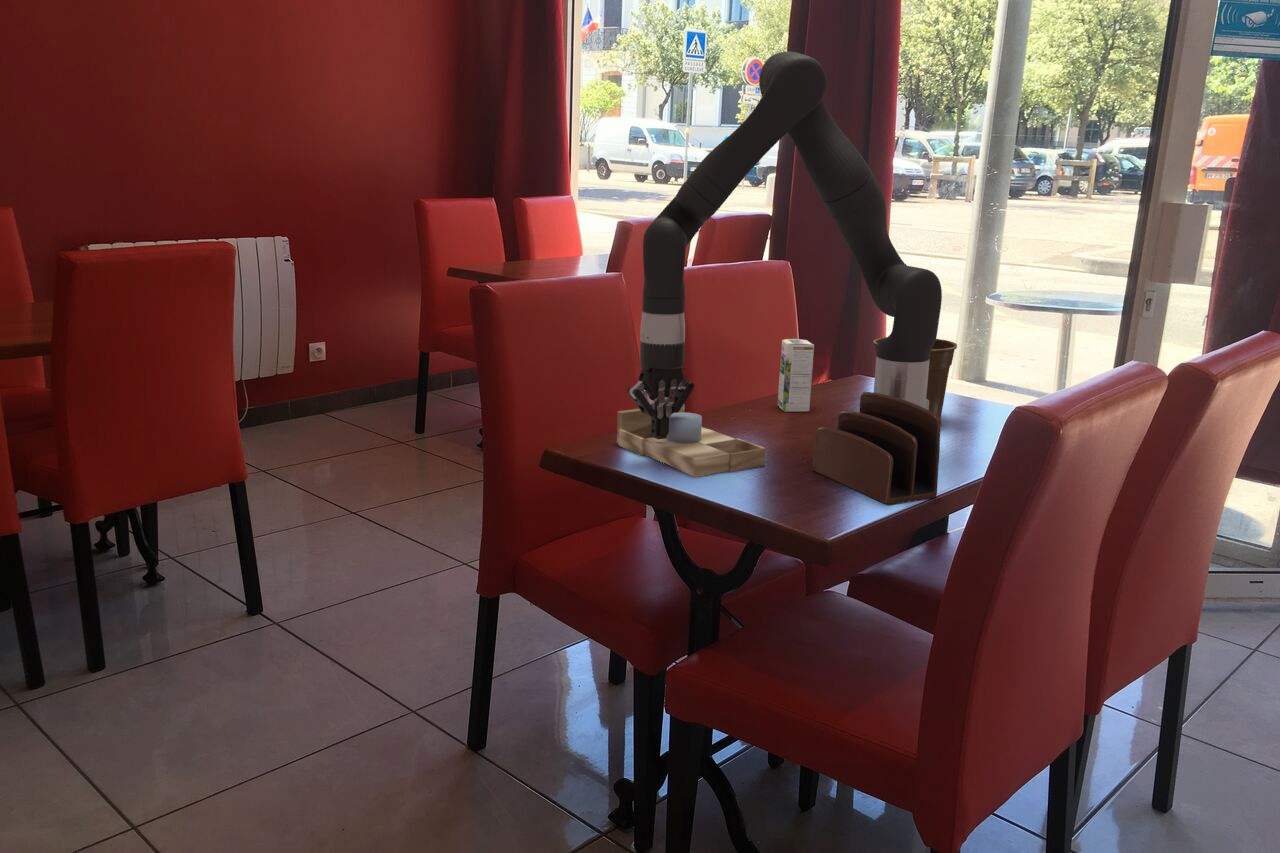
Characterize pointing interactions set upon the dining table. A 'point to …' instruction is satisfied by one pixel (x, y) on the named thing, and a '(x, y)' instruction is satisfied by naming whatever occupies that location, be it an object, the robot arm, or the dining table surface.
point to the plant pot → (937, 373)
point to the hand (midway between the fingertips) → (659, 437)
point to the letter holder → (882, 449)
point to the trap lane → (687, 447)
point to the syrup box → (795, 375)
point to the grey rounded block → (685, 427)
